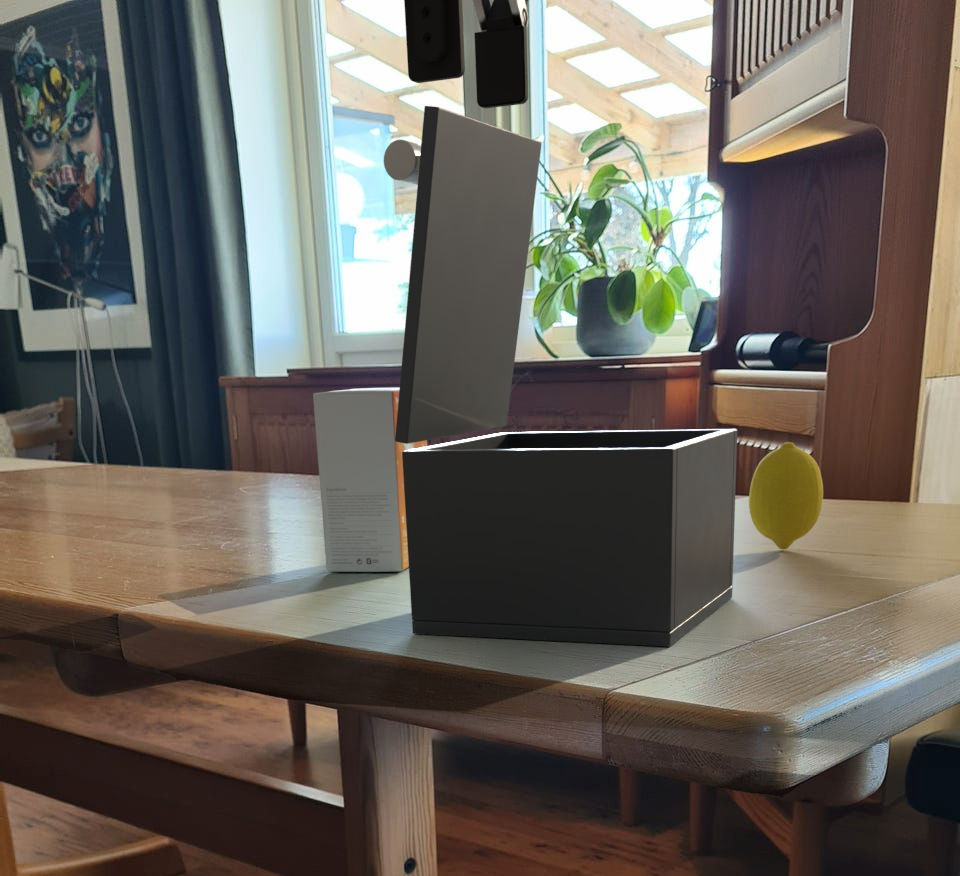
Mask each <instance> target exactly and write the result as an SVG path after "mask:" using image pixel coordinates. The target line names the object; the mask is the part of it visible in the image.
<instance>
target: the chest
mask: <svg viewBox="0 0 960 876" xmlns="http://www.w3.org/2000/svg"><path fill="white" fill-rule="evenodd" d="M737 454H738V428H711V429H710V428H706V429H648V430H647V429H646V430H645V429H643V430H640V429H639V430H637V429H636V430H635V429H634V430H586V431H585V430H584V431H583V430H581V431H580V430H579V431H576V430H575V431H573V430H572V431H521V432H520V431H519V432H517V431H515V432H514V431H512V432H498V433H492V434H487V435H482V436H477V437H470V438H466V439H460V440H455V441H450V442H444V443H439V444H433V445H427V447H422V448H417V449H412V450H407V451H403V452H402V461H403V478H404V494H405V511H406V528H407V545H408V561H409V567H408V576H409V588H410V589H409V592H410V610H411V611H410V612H411V627H412V634H414V635H429V636H430V635H431V636H447V637H449V636H450V637H470V638H485V639H486V638H487V639H488V638H489V639H492V638H493V639H506V640H507V639H509V640H529V641H548V642H567V643H568V642H569V643H585V644H603V645H604V644H608V645H625V646H645V647H666V648H671V647H672V646H673V645H674V644H676V643H677V642H678V641H679V640H680V639H682V638H683V637H684V636H686V635H687V634H689V632H691V630H693V629H694V628H696V627H697V626H698V625H700V624H701V623H702V622H703V621H705V620H706V619H707V618H708V617H710V616H711V615H712V614H713V613H715V612H716V611H717V610H719V609H720V608H721V607H722V606H723V605H725V604H727V602H728V601H730V600H731V599H732V598H733V584H734V583H733V579H734V547H735V521H736V519H735V518H736V516H735V515H736V485H737V482H736V481H737V456H738V455H737Z"/></svg>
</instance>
